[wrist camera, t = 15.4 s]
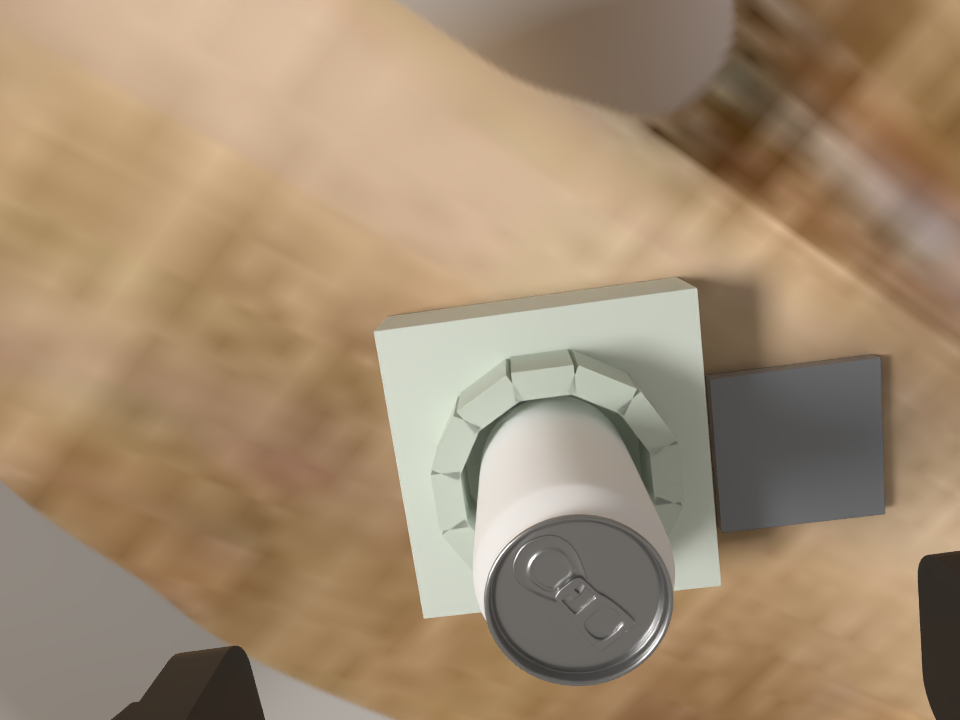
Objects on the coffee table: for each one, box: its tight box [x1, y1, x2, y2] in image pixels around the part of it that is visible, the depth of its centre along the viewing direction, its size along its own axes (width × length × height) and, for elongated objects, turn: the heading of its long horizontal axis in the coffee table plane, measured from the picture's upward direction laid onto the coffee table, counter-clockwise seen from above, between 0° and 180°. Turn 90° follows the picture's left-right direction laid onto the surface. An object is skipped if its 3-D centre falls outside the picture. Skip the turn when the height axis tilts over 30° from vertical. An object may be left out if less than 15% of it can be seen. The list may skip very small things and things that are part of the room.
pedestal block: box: [374, 277, 721, 618], centre depth 35 cm, size 14×14×7 cm
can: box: [473, 396, 675, 686], centre depth 28 cm, size 6×6×12 cm
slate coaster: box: [706, 354, 885, 533], centre depth 37 cm, size 8×8×1 cm
